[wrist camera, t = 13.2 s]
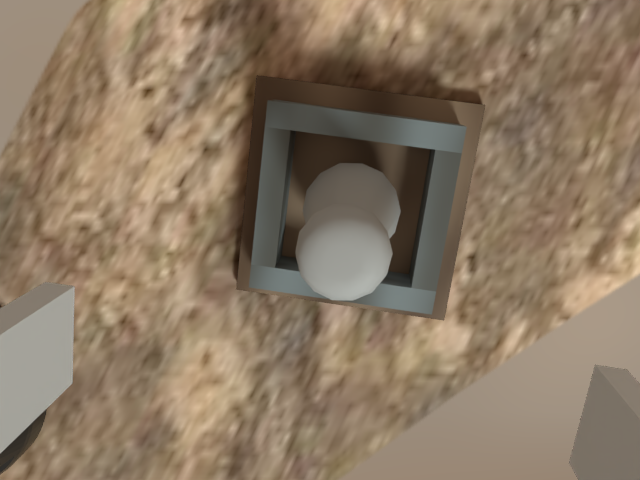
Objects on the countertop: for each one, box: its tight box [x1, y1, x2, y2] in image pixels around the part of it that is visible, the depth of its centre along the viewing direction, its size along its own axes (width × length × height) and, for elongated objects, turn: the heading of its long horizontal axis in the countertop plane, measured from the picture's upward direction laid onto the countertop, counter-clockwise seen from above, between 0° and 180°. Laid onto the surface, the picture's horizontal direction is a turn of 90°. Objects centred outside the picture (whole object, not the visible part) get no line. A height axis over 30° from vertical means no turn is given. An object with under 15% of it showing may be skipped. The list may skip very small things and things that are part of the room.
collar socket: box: [236, 75, 485, 320], centre depth 37 cm, size 14×14×4 cm
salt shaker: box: [295, 163, 401, 301], centre depth 32 cm, size 6×6×13 cm
